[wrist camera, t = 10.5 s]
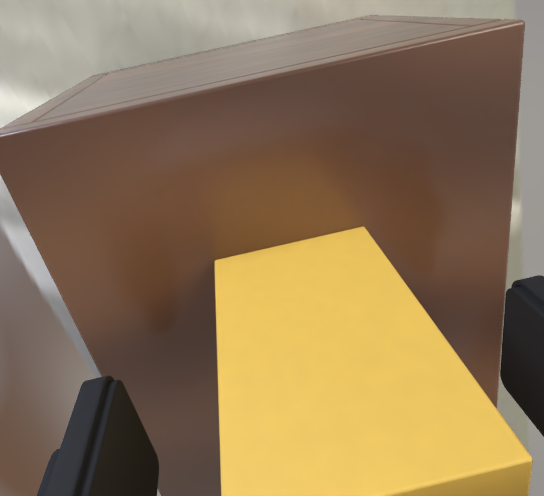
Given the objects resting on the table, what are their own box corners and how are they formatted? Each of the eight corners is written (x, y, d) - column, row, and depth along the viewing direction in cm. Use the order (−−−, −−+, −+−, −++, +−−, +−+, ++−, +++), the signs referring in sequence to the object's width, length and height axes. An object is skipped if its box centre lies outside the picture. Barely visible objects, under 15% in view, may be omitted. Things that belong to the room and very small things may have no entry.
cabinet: (392, 294, 26) (494, 450, 17) (187, 341, 26) (176, 527, 17) (372, 14, 19) (527, 18, 10) (91, 75, 19) (-20, 139, 10)
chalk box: (213, 259, 12) (220, 535, 6) (364, 225, 12) (535, 459, 6) (249, 382, 14) (283, 680, 8) (377, 352, 14) (512, 623, 8)
